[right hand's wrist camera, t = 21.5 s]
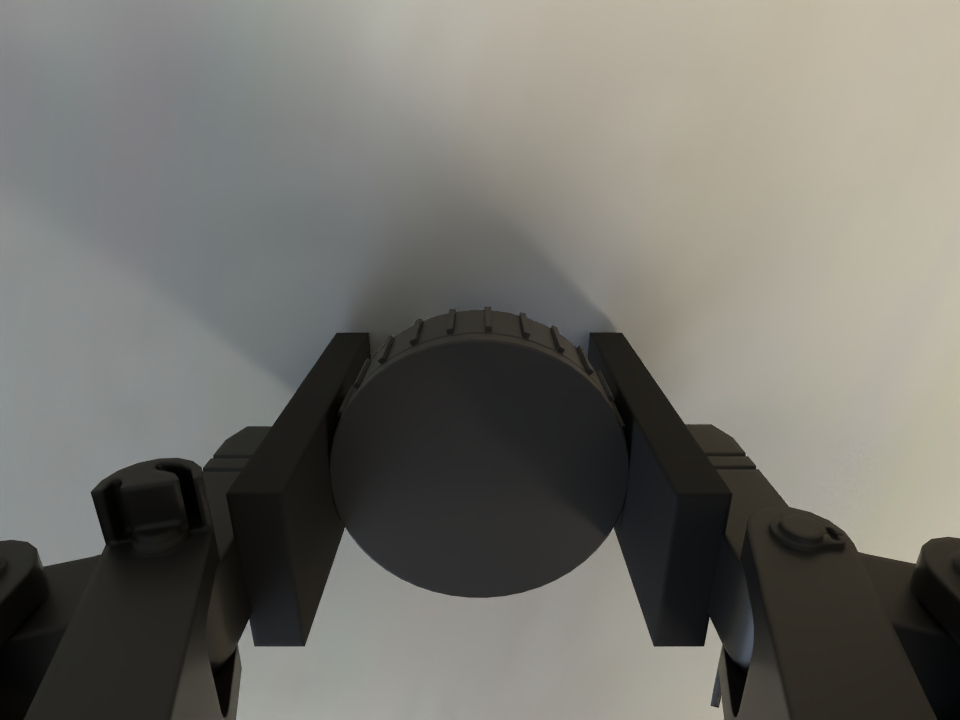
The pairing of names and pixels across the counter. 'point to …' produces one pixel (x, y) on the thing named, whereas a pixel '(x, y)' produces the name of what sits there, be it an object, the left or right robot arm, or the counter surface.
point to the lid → (479, 455)
